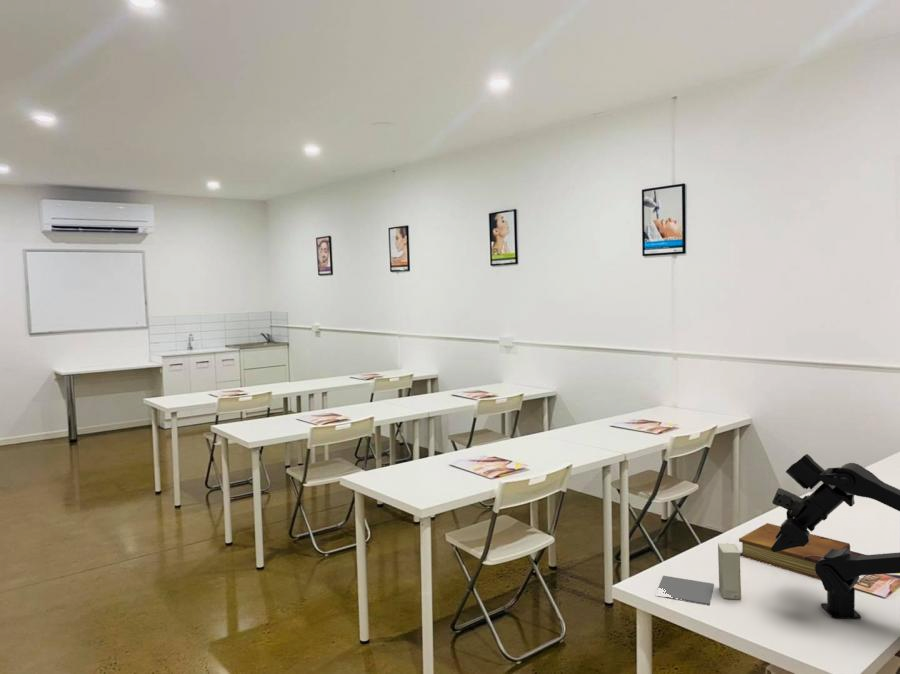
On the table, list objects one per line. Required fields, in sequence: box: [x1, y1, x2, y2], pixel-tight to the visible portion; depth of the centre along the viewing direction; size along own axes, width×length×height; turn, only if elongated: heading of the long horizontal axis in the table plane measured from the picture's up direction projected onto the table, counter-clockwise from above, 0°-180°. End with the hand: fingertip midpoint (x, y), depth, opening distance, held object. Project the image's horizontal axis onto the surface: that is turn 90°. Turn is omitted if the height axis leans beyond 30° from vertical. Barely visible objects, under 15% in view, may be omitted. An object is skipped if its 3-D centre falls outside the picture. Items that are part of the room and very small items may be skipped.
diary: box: [738, 522, 851, 581], centre depth 189 cm, size 23×19×6 cm
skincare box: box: [717, 543, 742, 600], centre depth 169 cm, size 6×4×12 cm
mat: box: [657, 575, 715, 606], centre depth 172 cm, size 13×12×1 cm
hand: (774, 544), depth 165 cm, fingers open, 9 cm apart
